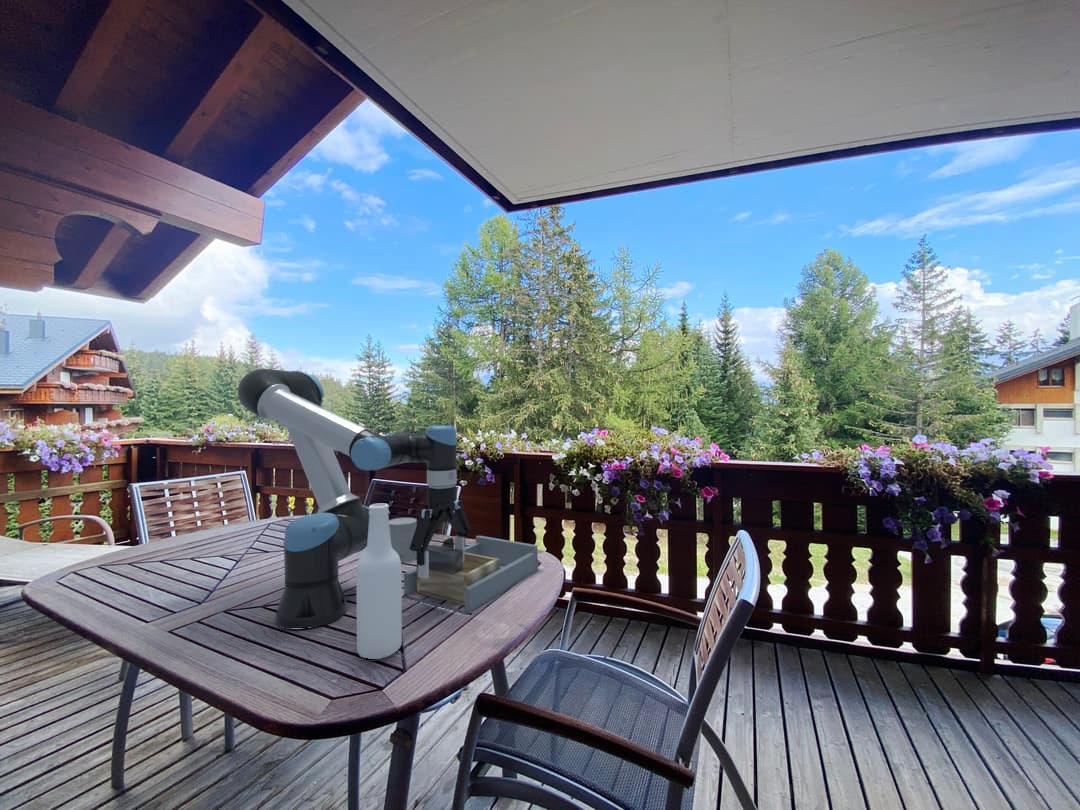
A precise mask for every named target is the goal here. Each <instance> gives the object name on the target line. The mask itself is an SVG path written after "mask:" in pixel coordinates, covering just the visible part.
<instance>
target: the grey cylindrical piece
mask: <svg viewBox="0 0 1080 810" xmlns="http://www.w3.org/2000/svg"><path fill="white" fill-rule="evenodd" d="M417 523H418V520H417V518H415V517H396V518H392V519H389V527H390V539H391V545H392V548H393V549H394V550H395V551H396V552H397V554H398V555H399V557H400V560H401V562H402V563H408V562H411V560H412V561H414V560H416V559H417V552H416V551H412V550H410V545H411V542H412V539H413V536H414V533H415V529H416V526H417ZM415 546H416V545H415ZM415 558H416V559H415Z"/></svg>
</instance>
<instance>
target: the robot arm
mask: <svg viewBox="0 0 1080 810" xmlns="http://www.w3.org/2000/svg"><path fill="white" fill-rule="evenodd" d="M324 393H325V392H324V388H323V385H322V383H321V382H320V381H319V380H318V379H317V377H315V376H314V375H312V374H309V373H307V372H302V371H297V370H290V371H289V370H279V369H272V368H261V369H260V368H259V369H255V370H253V371H250V372H248V373H247V374H245V375H244V376H243V377H242V378H241V380H240V382H239V384H238V387H237V397H238V400H239V402H240V404H241V405H242V406H243V407H244V408H245V409H246V410H247V411H249V412H250V413H252V414H253V415H255V416H257V417H259V418H261V419H263V420H268V421H271V420H275V421H276V422H277V423H278V425H279V426H281V427H283V428H286V429H287V432H288V433H289V434H288V435H289V436H290V439H291V441H292V444H293V446H294V450H295V451H296V454H297V456H298V459H299V462H300V463H301V466H302V469H303V472H304V473H305V477H306V478H307V480H308V483H309V486H310V488H311V490H312V494H313V495H314V498H315V501H316V503H317V506H318V510H317V512H316V513H312V514H310V515H307V514H306V515H304V516H300V517H298V518H296V519H294V520H292V521H291V522H290V523H288V525H287V526H286V527H285V531H284V539H283V551H284V552H283V554H284V555H283V556H284V558H283V559H284V563H283V564H284V588H283V593H282V595H281V598H280V600H279V603H278V608H277V611H276V614H275V615H276V616H275V617H276V618H275V619H276V622H275V623H276V625H277V624H278V625H279V626H281V627H284V628H308V627H315V626H319V627H321V626H320V625H322V626H325V625H327V624H331V623H332V622H334V621H336V620H338V619H340V618H341V617H342V616H344V614H346V612H347V598H346V596H345V593H344V590H343V588H342V586H341V582H340V580H339V579H340V578H339V562H340V561H342V560H345V559H346V558H348V557H350V556H352V555H354V554H357V553H359V552H361V551H363V550H365V549H366V548H367V540H368V527H369V506H366V505H363V503H362V501H361V499H360V496H358V495H355V494H353V493H351V489H350V487H349V485H348V483H347V481H346V477H345V475H344V473H343V471H342V468H341V465H340V463H339V460H338V458H337V457H336V454H335V452H334V450H336V451H338V452H340V453H342V454H344V455H346V456H347V457H350V458H351V461H352V463H353V464H354V465H355V467H356V468H358V469H360V470H362V471H378V470H382V469H384V468H388V467H391V466H397V465H400V464H404V463H426V485H427V486H428V487H427V488H426V500H427V502H428V504H429V506H428V507H429V508H428V509H423V508H420V509H419V512H418V515H419V516H418V520H417V526H416V529H415V533H414V536H413V539H412V542H411V545H410V550H412V551H416V552H417V558H416V566H417V565H418V577H420V578H424V579H428V578H429V551H426V549H427V547H428V546H430V542H431V541H432V540H433V539H432V538H433V537H434V535H435V532H436V531H437V529H438V528H439V527H440V526H441V525H442V524H444V523H448V524H449V525H450V526H451V528H452V530H453V531H454V532H455V533H456V535H455V536H454V549H459V550H463V562H464V561H465V547H466V537H467V538H468V537H469V535H470V533H471V532H472V529H471V526H470V523H469V520H468V517H467V515H466V512H465V509H464V502H463V500H459V499H458V487H457V486H456V485H457V482H458V481H457V479H458V478H457V477H458V476H457V467H458V466H457V457H458V456H457V450H458V446H457V445H458V440H457V431H456V430H457V429H456V427H454V426H453V425H429V426H428V427H426V431H425V433H411V432H409V433H408V432H394V433H387V434H385V435H381V434H379V433H377V432H375V431H372V430H370V429H368V428H366V427H364V426H362V425H361V424H358V423H355V422H354V421H352V420H349V419H348V418H345V417H343V416H341V415H339V414H336V413H334V412H332V411H331V410H328V409H326V408H325V407H322V405H323V402H324V400H323V398H324V397H325V394H324ZM415 545H416V546H415ZM324 624H325V625H324ZM278 625H277V626H278ZM279 626H278V627H279ZM281 627H280V628H281ZM284 628H283V629H284ZM315 628H316V627H315Z"/></svg>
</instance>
